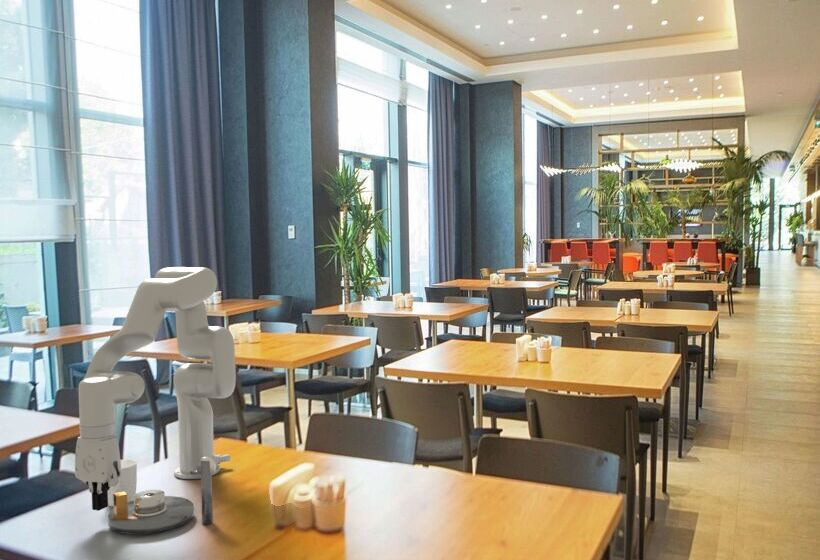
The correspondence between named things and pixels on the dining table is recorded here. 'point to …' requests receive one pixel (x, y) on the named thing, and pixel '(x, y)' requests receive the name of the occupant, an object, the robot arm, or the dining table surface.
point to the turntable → (130, 524)
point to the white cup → (125, 481)
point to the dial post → (206, 487)
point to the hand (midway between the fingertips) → (100, 508)
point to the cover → (149, 503)
